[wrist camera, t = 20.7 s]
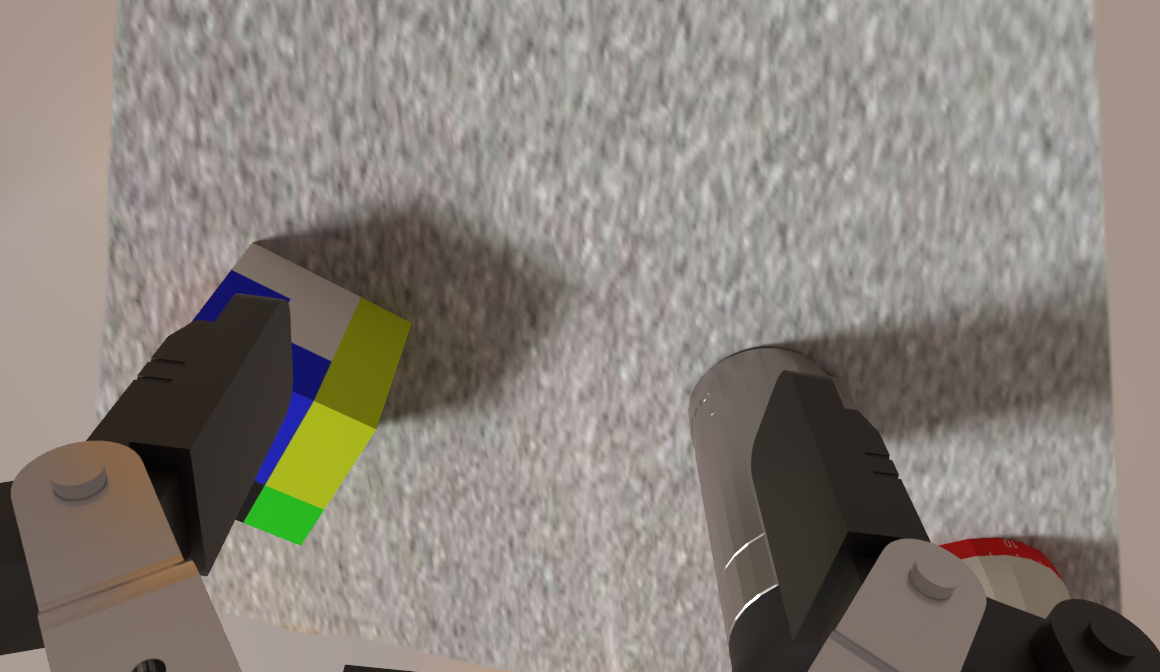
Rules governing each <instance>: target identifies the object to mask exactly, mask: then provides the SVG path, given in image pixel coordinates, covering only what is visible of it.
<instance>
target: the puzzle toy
mask: <svg viewBox="0 0 1160 672" xmlns="http://www.w3.org/2000/svg"><path fill="white" fill-rule="evenodd" d="M237 293H240V294H247V295H255V296H262V297H269V298H276V299H284V300H286V301H287V302H288V304H289V307H290V317H291V341H292V365H293V388H292V395H291V401H290V405H289V408H288V412H287V414H286V417H285V419H284V421H283V423H282V425H281V427H280V429H279V431H278V433H277V435H276V437H275V439H274V442H273V444H272V446H271V448H270V450H269V452H268V454H267V456H266V458H265V460H264V462H263V464H262V466H261V468H260V470H259V472H258V474H257V476H256V478H255V480H254V482H253V484H252V486H251V489H250V491H249V493H248V495H247V497H246V499H245V501H244V503H243V505H242V507H241V509H240V511H239V513H238V515H237V517H236V519H235V520H238V521H240V522H243V523H245V524H248V525H250V526H253V527H255V528H258V529H260V530H263V531H265V532H268V533H270V534H273V535H275V536H278V537H280V538H283V539H285V540H288V541H290V542H293V543H295V544H298V545H300V546H301V545H302V543H303V542H304V540H305V538H306V537H307V535H308V534H309V532H310V531H311V529H312V528H313V526H314V525H315V523H316V522H317V520H318V519H319V517H320V515H321V514H322V512H323V511H324V509H325V508H326V506H327V505H328V503H329V502H330V500H331V499H332V497H333V495H334V494H335V492H336V491H337V489H338V488H339V486H340V485H341V483H342V482H343V480H344V479H345V477H346V475H347V474H348V472H349V471H350V469H351V468H352V466H353V465H354V463H355V462H356V460H357V459H358V457H359V456H360V454H361V452H362V451H363V449H364V448H365V446H366V445H367V443H368V442H369V440H370V439H371V437H372V436H373V434H374V432H375V431H376V429H377V426H378V423H379V420H380V417H381V414H382V411H383V408H384V405H385V402H386V399H387V396H388V393H389V390H390V387H391V384H392V381H393V378H394V375H395V372H396V369H397V366H398V363H399V360H400V357H401V354H402V351H403V348H404V345H405V342H406V339H407V336H408V333H409V330H410V327H411V325H412V323H411V322H409V321H407V320H405V319H403V318H401V317H399V316H397V315H395V314H393V313H391V312H389V311H387V310H385V309H383V308H381V307H380V306H378V305H376V304H374V303H372V302H370V301H368V300H366V299H364V298H362V297H360V296H358V295H356V294H354V293H352V292H350V291H348V290H346V289H344V288H342V287H340V286H338V285H336V284H334V283H332V282H330V281H328V280H326V279H324V278H322V277H320V276H318V275H316V274H314V273H312V272H310V271H308V270H306V269H304V268H302V267H300V266H298V265H297V264H295V263H293V262H291V261H289V260H287V259H285V258H283V257H281V256H279V255H277V254H275V253H273V252H271V251H269V250H267V249H265V248H263V247H261V246H259V245H257V244H255V243H253V242H252V244H251V245H250V246H249V248H248V249H247V250H246V251H245V253H244V254H243V255H242V257H241V258H240V259H239V261H238V262H237V263H236V265H235V266H234V267H233V268H232V270H231V271H230V272H229V274H228V275H227V276H226V278H225V279H224V280H223V282H222V283H221V284H220V285H219V287H218V288H217V289H216V291H215V292H214V293H213V295H212V296H211V297H210V299H209V300H208V301H207V302H206V304H205V305H204V306H203V308H202V309H201V310H200V312H199V313H198V314H197V316H196V317H195V318H194V319H193V321H195V320H204V321H211V322H215V321H216V319H217V318H218V316H219V315H220V314H221V312H222V311H223V309H224V308H225V307H226V305H227V304H228V302H229V301H230V300H231V298H232V297H233V296H234V295H235V294H237ZM193 321H192V322H193ZM192 322H191V323H192Z"/></svg>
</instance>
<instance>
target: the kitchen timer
mask: <svg viewBox="0 0 1160 672" xmlns="http://www.w3.org/2000/svg"><path fill="white" fill-rule="evenodd" d="M940 547H942V548H943V549H945V550H947V551H949V552H951V553H952V554H954V555H955V556H957V557H958V558H959V559H960V560H962V561H963V562H964V563H965V564H966V565H967V566H968V567H969V568H970V569H971V570H972V571H973V572H974V573H975V575H976V576H977V577H978V579H979V580H980V582H981V584H982V586H983V588H984V591H985V594H986V596H987V597H989V598H991V599H994V600H996V601H999V602H1001V603H1004V604H1007V605H1009V606H1012V607H1015V608H1017V609H1020V610H1023V611H1026V612H1028V613H1031V614H1034V615H1036V616H1039V617H1042V618H1044V619H1046V617H1047V616H1048V615H1049V613H1050V612H1051V611H1052V609H1053V608H1054V607H1055V606H1056V604H1058V603H1059V602H1061V601H1064V600H1067V599H1071V598H1070V596H1069V593H1068V590H1067V588H1066V586H1065V584H1064V582H1063V580H1062V579H1061V577H1060V575H1059V574H1058V572H1057V570H1056V569H1055V567H1054V566H1053V564H1052V563H1051V562H1050V561H1049V560H1048V559H1047V558H1046V557H1045V556H1044V555H1043V554H1042V553H1041V552H1040V551H1038V550H1036V549H1034V548H1032V547H1030V546H1028V545H1026V544H1024V543H1021V542H1017V541H1011V540H1005V539H1000V538H979V539H966V540H961V541H957V542H953V543H948V544H944V545H940Z"/></svg>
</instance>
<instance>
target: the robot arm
mask: <svg viewBox="0 0 1160 672" xmlns="http://www.w3.org/2000/svg"><path fill="white" fill-rule="evenodd" d="M292 388H293V365H292V341H291V317H290V307H289V304H288V302H287V301H286V300H284V299H276V298H269V297H262V296H255V295H247V294H240V293H237V294H235V295H234V296H233V297H232V298H231V300H230V301H229V302H228V304H227V305H226V307H225V308H224V309H223V311H222V312H221V314H220V315H219V316H218V318H217V319H216V321H215V322H211V321H204V320H195V321H193V322H192V323H190V324H188V325H187V326H185V327H183V328H181V329H180V330H178V331H176V332H175V333H173V334H171V335H170V336H168V337H167V338H166V340H165V341H164V342H163V344H162V345H161V346H160V347H159V349H158V350H157V351H156V352H155V354H154V355H153V356H152V358H151V362H148V363H147V364H146V365H145V366H144V368H143V369H142V370H141V372H140V373H139V374H138V378H137V380H133V382H132V383H131V384H130V386H129V387H128V388H127V389H126V391H125V392H124V393H123V394H122V396H121V397H120V398H119V399H118V401H117V402H116V403H115V405H114V406H113V407H112V408H111V410H110V411H109V412H108V413H107V415H106V416H105V417H104V419H103V420H102V421H101V422H100V424H99V425H98V426H97V427H96V429H95V430H94V431H93V433H92V434H91V435H90V436H89V438H88V439H87V440H86V441H85V442H77V443H73V444H68V445H65V446H61V447H58V448H56V449H53V450H51V451H49V452H46V453H44V454H42V455H41V456H39V457H37V458H36V459H34V460H33V461H31V462H30V463H29V464H27V465H26V466H25V467H24V468H23V469H22V470H21V471H20V472H19V474H18V475H17V476H16V478H15V480H14V481H10V482H3V483H0V655H5V654H10V653H17V652H22V651H28V650H34V649H39V648H45V649H46V653H47V658H48V662H49V666H50V670H51V672H242V671H241V669H240V667H239V664H238V662H237V660H236V657H235V655H234V653H233V650H232V648H231V646H230V643H229V641H228V639H227V636H226V634H225V632H224V630H223V627H222V625H221V623H220V620H219V618H218V616H217V613H216V611H215V609H214V606H213V604H212V602H211V599H210V597H209V595H208V592H207V590H206V588H205V585H204V583H203V581H202V579H201V576H208V574H209V572H210V570H211V568H212V566H213V564H214V562H215V560H216V558H217V556H218V554H219V552H220V550H221V548H222V546H223V544H224V542H225V540H226V538H227V535H228V533H229V531H230V529H231V527H232V525H233V523H234V521H235V519H236V517H237V515H238V513H239V511H240V509H241V507H242V505H243V503H244V501H245V499H246V497H247V495H248V493H249V491H250V489H251V486H252V484H253V482H254V480H255V478H256V476H257V474H258V472H259V470H260V468H261V466H262V464H263V462H264V460H265V458H266V456H267V454H268V452H269V450H270V448H271V446H272V444H273V442H274V439H275V437H276V435H277V433H278V431H279V429H280V427H281V425H282V423H283V421H284V419H285V417H286V414H287V412H288V408H289V405H290V401H291V395H292ZM688 410H689V420H690V426H691V436H692V442H693V446H694V450H695V456H696V462H697V468H698V474H699V480H700V485H701V491H702V497H703V503H704V509H705V514H706V520H707V526H708V532H709V538H710V543H711V549H712V555H713V561H714V567H715V572H716V578H717V584H718V590H719V595H720V601H721V606H722V612H723V618H724V624H725V630H726V635H727V641H728V646H729V653H730V659H731V664H732V672H1160V652H1159V650H1158V649H1157V647H1156V646H1155V644H1154V643H1153V642H1152V641H1151V640H1150V639H1149V638H1148V636H1147V635H1146V634H1144V633H1143V632H1142V631H1141V630H1140V629H1139V628H1138V627H1137V626H1135V625H1134V624H1133V623H1132V622H1130V621H1129V620H1127V619H1126V618H1125V617H1123V616H1122V615H1120V614H1118V613H1116V612H1115V611H1113V610H1111V609H1109V608H1107V607H1105V606H1102V605H1100V604H1097V603H1094V602H1091V601H1086V600H1081V599H1067V600H1064V601H1061V602H1059V603H1058V604H1056V606H1055V607H1054V608H1053V609H1052V611H1051V612H1050V613H1049V615H1048V616H1047V617H1046V619H1044V618H1042V617H1039V616H1036V615H1034V614H1031V613H1028V612H1026V611H1023V610H1020V609H1017V608H1015V607H1012V606H1009V605H1007V604H1004V603H1001V602H999V601H996V600H994V599H991V598H989V597H987V596H986V594H985V591H984V588H983V586H982V584H981V582H980V580H979V579H978V577H977V576H976V575H975V573H974V572H973V571H972V570H971V569H970V568H969V567H968V566H967V565H966V564H965V563H964V562H963V561H962V560H960V559H959V558H958V557H957V556H955V555H954V554H952V553H951V552H949V551H947V550H945V549H943V548H942V547H940V546H937V545H935V544H932V543H931V542H930V539H929V537H928V535H927V533H926V531H925V529H924V527H923V525H922V523H921V520H920V518H919V516H918V514H917V512H916V510H915V508H914V506H913V503H912V501H911V499H910V497H909V495H908V493H907V491H906V489H905V487H904V484H903V482H902V480H901V479H898V475H899V474H898V472H897V470H896V468H895V465H894V463H893V461H892V460H889V456H890V455H889V453H888V451H887V448H886V446H885V444H884V442H883V440H882V438H881V436H880V434H879V432H878V431H877V430H876V429H875V428H874V427H873V426H872V425H871V424H870V423H869V422H868V421H867V420H866V419H865V418H864V417H863V416H862V415H861V414H860V413H859V411H858V410H857V408H856V405H855V403H854V401H853V399H852V397H851V394H850V392H849V390H848V388H847V386H846V383H845V381H844V379H843V378H840V377H833V376H830V375H828V374H826V373H825V372H824V371H823V370H822V369H821V368H820V367H819V366H818V365H817V364H816V363H815V362H814V361H812V360H811V359H809V358H807V357H806V356H804V355H802V354H799V353H796V352H793V351H790V350H784V349H778V348H759V349H754V350H749V351H744V352H741V353H738V354H736V355H733V356H730V357H728V358H726V359H725V360H723V361H721V362H720V363H718V364H716V365H715V366H714V367H712V368H711V369H710V370H709V371H708V372H707V373H706V374H704V376H703V377H702V378H701V380H700V381H699V382H698V384H697V385H696V386H695V389H694V391H693V393H692V395H691V398H690V403H689V409H688ZM200 575H201V576H200ZM343 672H412V671H403V670H393V669H382V668H373V667H363V666H353V665H345V667H344V671H343Z"/></svg>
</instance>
